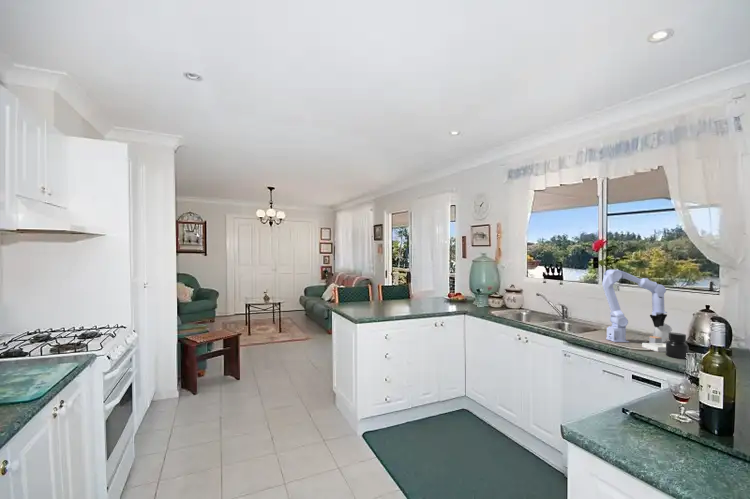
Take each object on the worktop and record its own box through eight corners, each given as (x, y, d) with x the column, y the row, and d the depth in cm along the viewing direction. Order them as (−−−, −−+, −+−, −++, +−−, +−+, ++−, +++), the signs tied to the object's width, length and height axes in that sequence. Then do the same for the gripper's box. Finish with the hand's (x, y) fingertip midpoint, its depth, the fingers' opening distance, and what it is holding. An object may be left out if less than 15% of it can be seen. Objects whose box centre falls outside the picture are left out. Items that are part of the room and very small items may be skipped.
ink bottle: (692, 358, 178) (692, 335, 178) (685, 360, 173) (685, 336, 174) (669, 353, 186) (669, 331, 187) (661, 355, 182) (661, 332, 182)
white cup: (662, 333, 219) (666, 322, 214) (670, 343, 213) (675, 331, 207) (648, 334, 220) (652, 323, 215) (656, 344, 213) (660, 332, 208)
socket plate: (657, 351, 190) (657, 346, 190) (642, 347, 200) (642, 341, 200) (684, 352, 191) (684, 346, 191) (667, 347, 201) (668, 342, 201)
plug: (655, 346, 204) (655, 337, 204) (649, 344, 208) (649, 336, 208) (661, 346, 204) (661, 337, 204) (655, 344, 208) (655, 336, 208)
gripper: (662, 305, 203) (662, 328, 203) (670, 303, 211) (671, 326, 211) (647, 304, 209) (648, 327, 209) (656, 302, 217) (657, 324, 217)
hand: (658, 326), depth 210 cm, fingers open, 6 cm apart
